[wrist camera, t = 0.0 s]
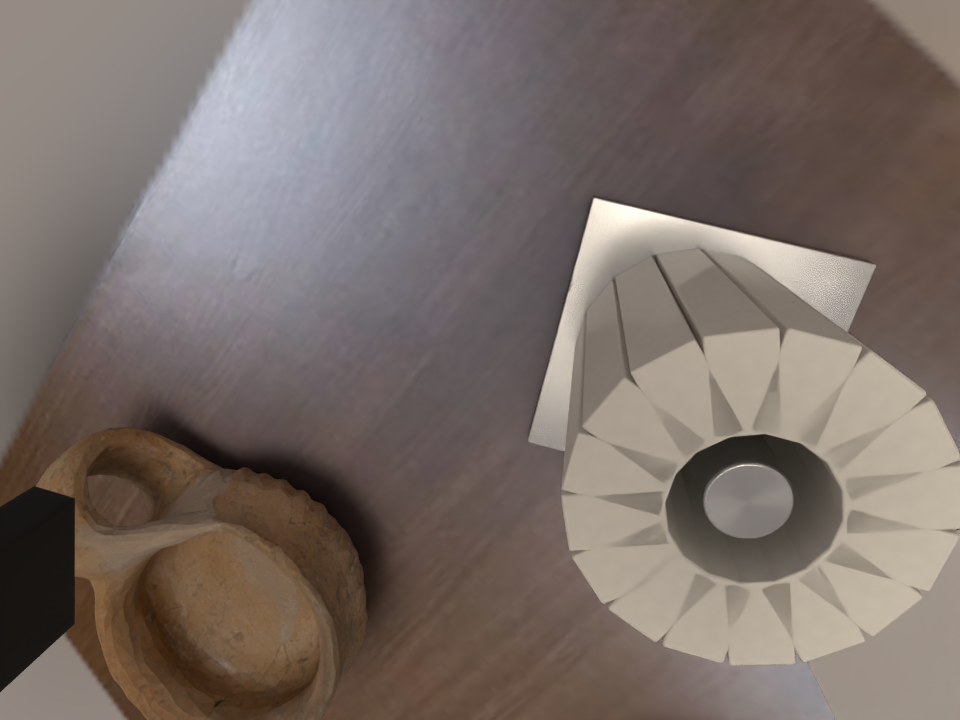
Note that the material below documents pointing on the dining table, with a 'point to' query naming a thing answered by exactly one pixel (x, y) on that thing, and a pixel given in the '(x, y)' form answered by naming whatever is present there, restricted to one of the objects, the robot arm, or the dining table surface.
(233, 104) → the dining table surface
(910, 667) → the milk
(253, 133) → the dining table surface
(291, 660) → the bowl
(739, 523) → the towel stand
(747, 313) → the paper towel roll
